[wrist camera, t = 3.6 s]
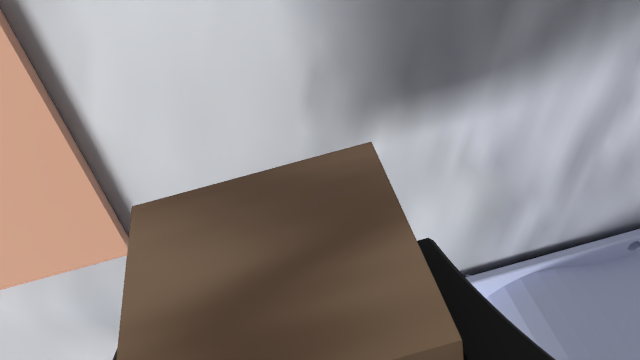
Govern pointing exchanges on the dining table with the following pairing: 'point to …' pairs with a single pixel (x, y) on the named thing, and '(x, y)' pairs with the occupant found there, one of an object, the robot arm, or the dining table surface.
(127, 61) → the dining table surface
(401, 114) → the dining table surface
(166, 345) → the walnut cube
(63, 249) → the terracotta tile
